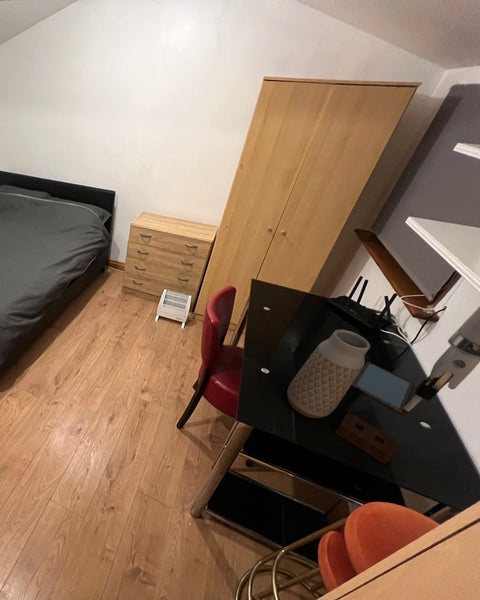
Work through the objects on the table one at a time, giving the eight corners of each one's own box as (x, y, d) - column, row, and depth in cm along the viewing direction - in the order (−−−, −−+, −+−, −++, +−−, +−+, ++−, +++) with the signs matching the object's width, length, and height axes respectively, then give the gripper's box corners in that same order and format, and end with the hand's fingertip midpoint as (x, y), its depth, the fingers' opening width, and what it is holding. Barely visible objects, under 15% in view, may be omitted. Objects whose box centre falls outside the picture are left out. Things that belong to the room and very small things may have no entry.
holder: (391, 449, 100) (399, 441, 98) (385, 464, 95) (393, 457, 93) (342, 419, 108) (348, 411, 106) (334, 432, 104) (341, 424, 101)
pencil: (407, 412, 92) (439, 380, 85) (406, 414, 91) (438, 383, 84) (401, 408, 93) (432, 377, 86) (400, 410, 92) (431, 379, 85)
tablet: (366, 362, 134) (367, 361, 134) (412, 385, 125) (413, 383, 124) (351, 386, 122) (352, 384, 121) (400, 413, 112) (402, 411, 112)
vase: (336, 420, 108) (392, 352, 91) (303, 426, 105) (355, 357, 88) (304, 388, 119) (349, 322, 102) (273, 393, 116) (314, 326, 99)
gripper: (493, 367, 71) (435, 419, 81) (496, 341, 80) (444, 390, 90) (447, 348, 76) (398, 399, 86) (455, 325, 84) (410, 374, 94)
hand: (422, 394), depth 88 cm, fingers closed on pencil, 1 cm apart
